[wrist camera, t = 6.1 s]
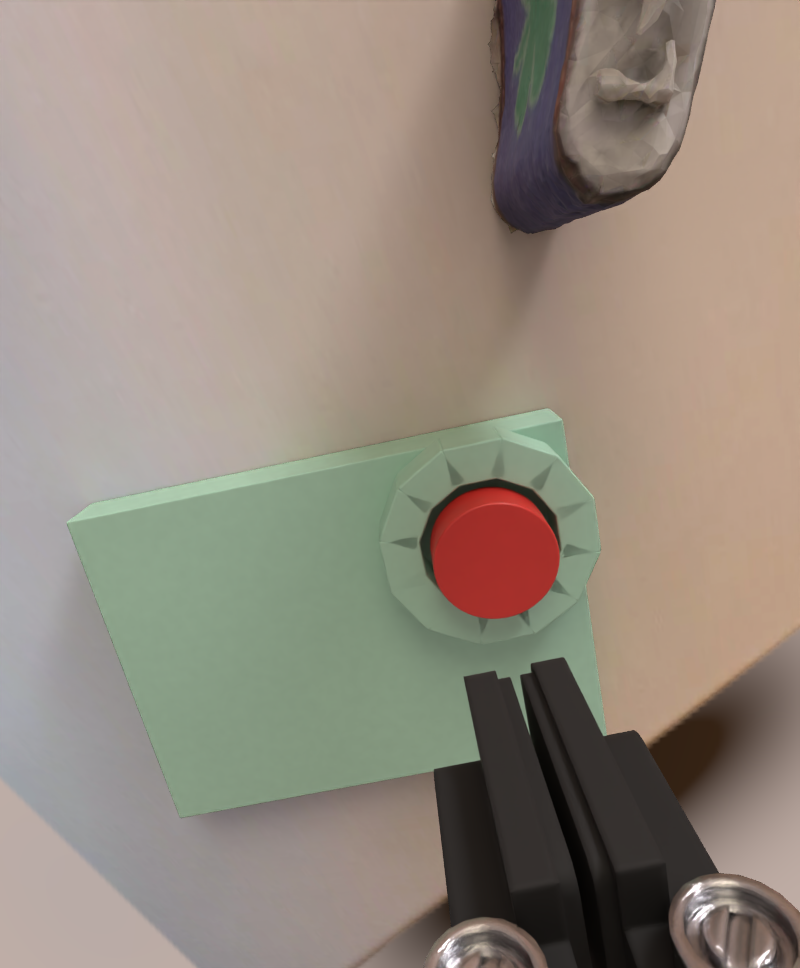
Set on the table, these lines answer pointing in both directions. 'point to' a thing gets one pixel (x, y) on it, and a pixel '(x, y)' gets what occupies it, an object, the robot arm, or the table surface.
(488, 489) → the button
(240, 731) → the green button panel
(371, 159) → the table surface
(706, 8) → the flask
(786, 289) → the table surface
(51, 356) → the table surface
